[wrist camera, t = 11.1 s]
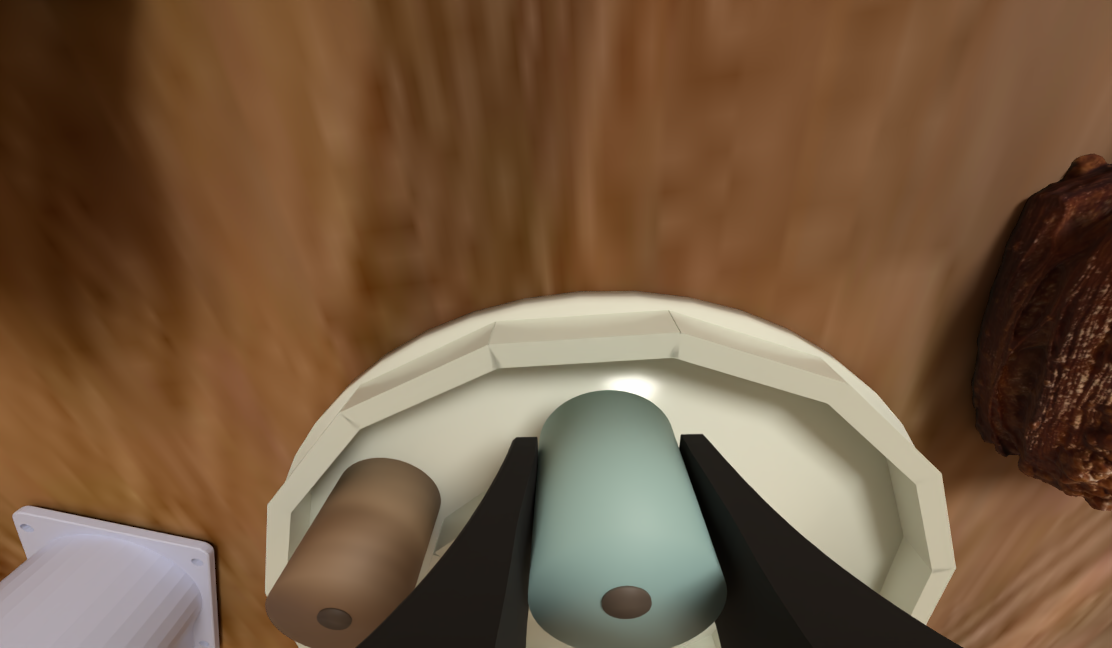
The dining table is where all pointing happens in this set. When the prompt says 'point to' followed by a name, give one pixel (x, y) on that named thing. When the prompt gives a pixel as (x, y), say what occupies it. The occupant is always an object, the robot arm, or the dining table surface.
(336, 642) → the walnut bead
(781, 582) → the robot arm
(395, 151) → the dining table surface
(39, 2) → the dining table surface
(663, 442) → the teal bead
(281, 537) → the groove tray
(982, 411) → the pastry
